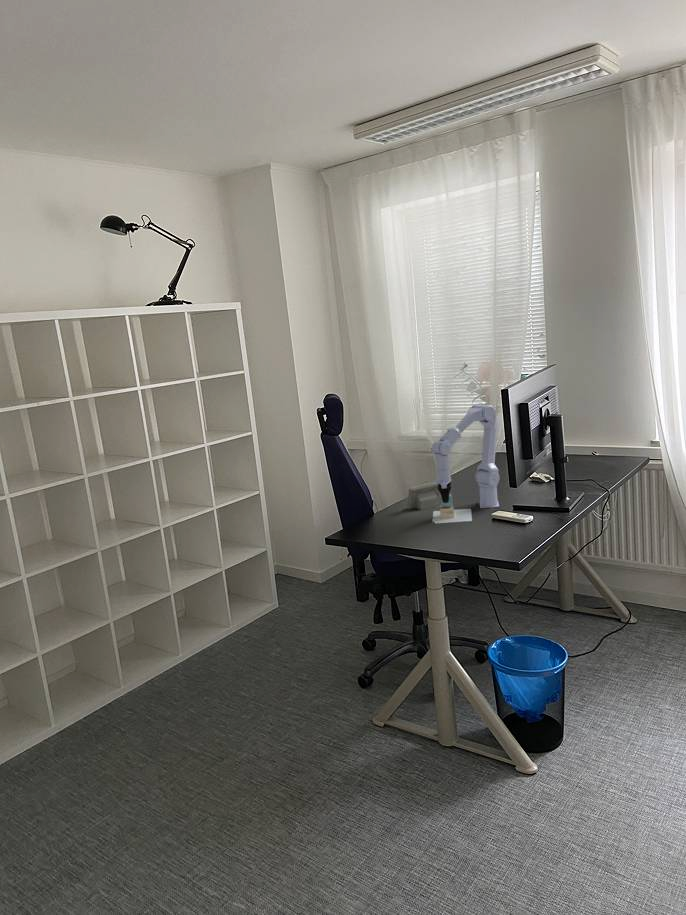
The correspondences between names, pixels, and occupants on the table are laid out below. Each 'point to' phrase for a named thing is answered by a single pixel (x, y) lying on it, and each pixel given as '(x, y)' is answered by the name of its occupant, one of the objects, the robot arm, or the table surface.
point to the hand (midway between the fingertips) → (445, 501)
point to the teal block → (448, 502)
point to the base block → (446, 512)
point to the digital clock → (423, 496)
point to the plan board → (459, 516)
